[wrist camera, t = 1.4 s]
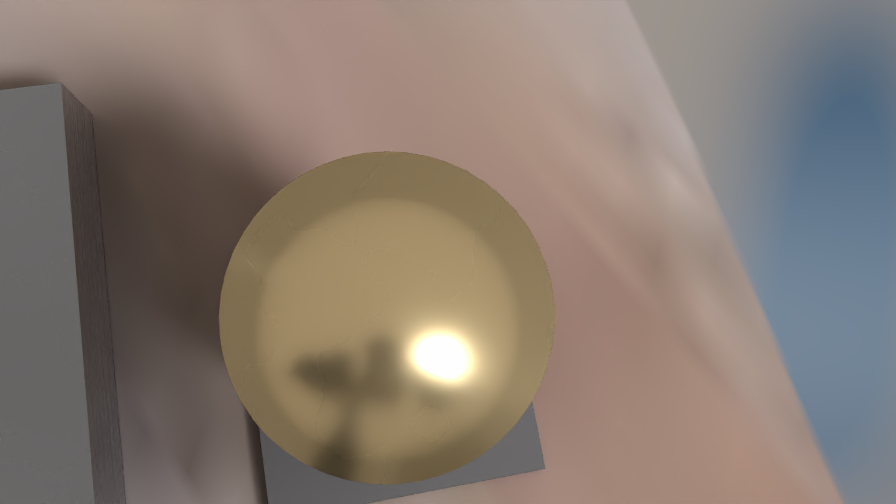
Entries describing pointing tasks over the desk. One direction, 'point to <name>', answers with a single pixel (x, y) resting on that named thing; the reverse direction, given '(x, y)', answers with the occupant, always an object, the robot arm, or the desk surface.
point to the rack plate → (54, 308)
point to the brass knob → (386, 318)
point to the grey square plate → (338, 500)
